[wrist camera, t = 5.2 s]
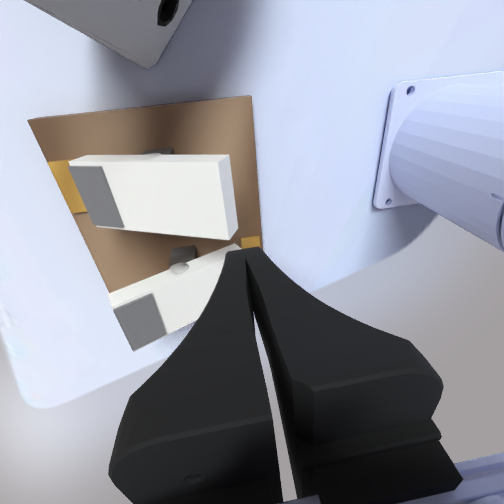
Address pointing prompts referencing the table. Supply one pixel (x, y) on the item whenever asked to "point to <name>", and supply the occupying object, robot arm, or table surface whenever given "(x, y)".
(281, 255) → the table surface
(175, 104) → the switch board
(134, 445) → the robot arm
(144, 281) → the block
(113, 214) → the front rocker
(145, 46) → the electrical switch
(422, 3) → the table surface
